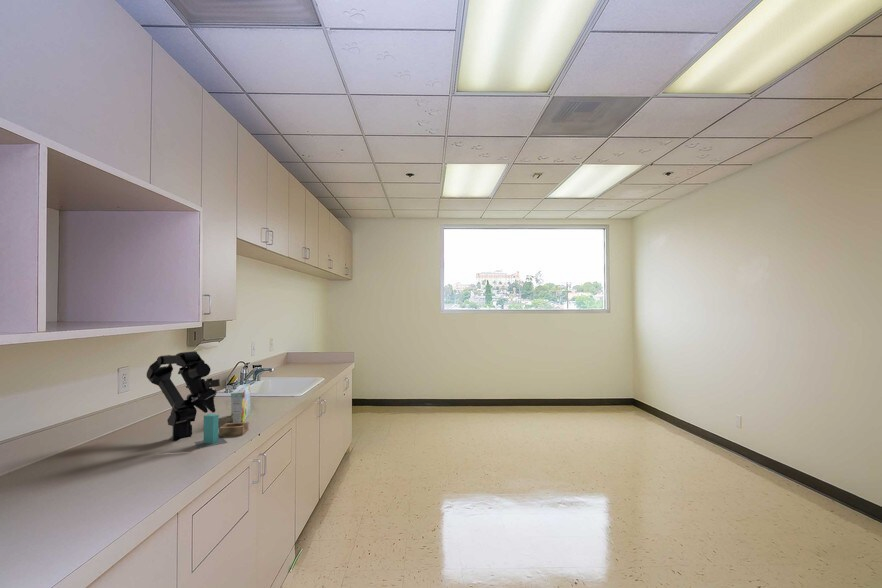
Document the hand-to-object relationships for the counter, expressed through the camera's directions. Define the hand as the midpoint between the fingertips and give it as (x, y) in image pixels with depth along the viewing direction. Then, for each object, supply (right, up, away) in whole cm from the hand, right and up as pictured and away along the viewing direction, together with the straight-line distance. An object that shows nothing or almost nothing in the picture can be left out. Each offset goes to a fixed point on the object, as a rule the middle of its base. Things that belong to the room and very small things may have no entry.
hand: (210, 412), depth 166 cm
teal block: (+5, -10, -9) cm, 14 cm away
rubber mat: (+5, -10, -9) cm, 14 cm away
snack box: (-1, -12, +28) cm, 31 cm away
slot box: (+9, -11, +3) cm, 14 cm away
